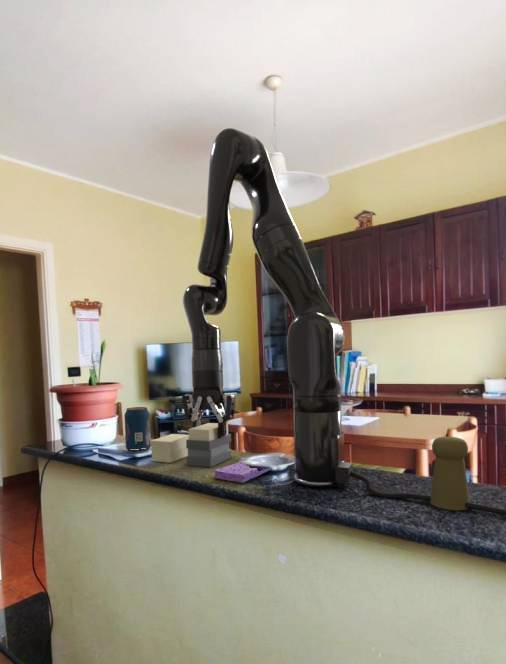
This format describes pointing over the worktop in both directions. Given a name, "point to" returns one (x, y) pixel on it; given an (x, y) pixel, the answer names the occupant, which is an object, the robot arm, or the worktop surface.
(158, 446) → the cream books
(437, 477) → the cork
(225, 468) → the sponge
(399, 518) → the worktop surface
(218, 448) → the grey books
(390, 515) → the worktop surface
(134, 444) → the soda can
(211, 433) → the pale yellow block
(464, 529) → the worktop surface
